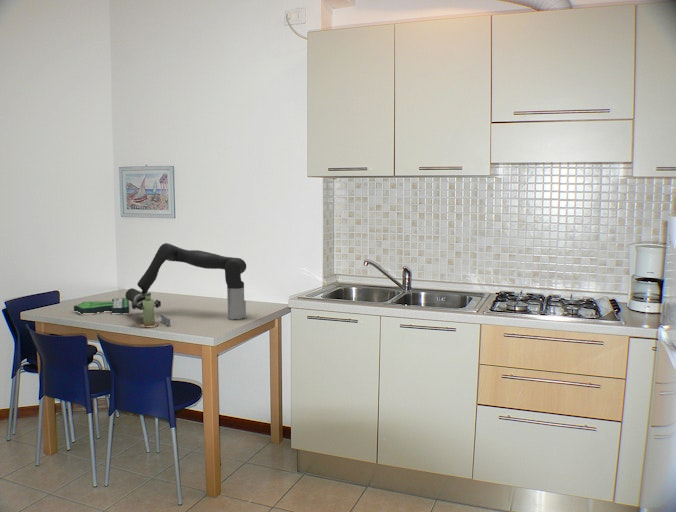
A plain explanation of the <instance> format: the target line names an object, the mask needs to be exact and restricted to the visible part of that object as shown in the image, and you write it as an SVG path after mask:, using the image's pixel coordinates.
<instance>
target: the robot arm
mask: <svg viewBox="0 0 676 512" xmlns="http://www.w3.org/2000/svg"><path fill="white" fill-rule="evenodd" d="M166 261H169V262H177V263H178V262H179V263H185V264H188V265H190V266H194V267H197V268H202V269H208V270H209V269H211V270H224V277H225V283H226V287H227V288H226V291H227V296H226V297H227V319H229V320H233V319H237V320H242V318H243V319H245V318H247V302H246V300H245V282H244V281H243V280H242V277H241V275H242V274H243V273H244V272H246V270H247V263H246V262H245V260H244V259H242V258H241V257H232V256H224V255H220V254H216V253H212V252H207V251H204V250H198V249H196V250H195V249H194V250H193V249H191V250H190V249H184V248H181V247H179V246H176V245H173V244H172V243H167V242H165V243H163V244H161V245H160V246H159V248H158V249H157V251H156V253H155V255H154V257H153V259H152V261H151V263H150V264H149V266H148V268H147V269H146V271H145V272H144V274H143V275H142V276H141V278H140V279H139V281H138V282H137V286H138V288H140V289H141V291H139V290H137V288H136V289H135V288H133V287H132V288H131V287H130V288H129V289H128V290H127V291H126V293H125V298H126V299H127V300H129V302H131V308H132V310H136V309H137V310H139V311H140V310H141V311H143V300H146V299H145V293H149V289H150V288H151V287H152V286H153V284H154V283H155V281H156V280H157V277H158V274H159V272H160V268H161V267H162V265H163V264H164V263H165V262H166ZM161 303H162V302H161V300H159V299H156V300H154V308H156V309H159V308H160V307H162V305H161Z"/></svg>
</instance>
